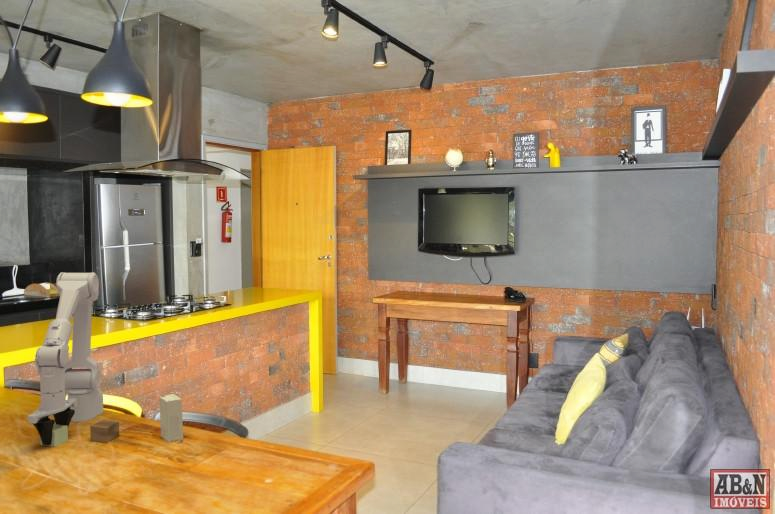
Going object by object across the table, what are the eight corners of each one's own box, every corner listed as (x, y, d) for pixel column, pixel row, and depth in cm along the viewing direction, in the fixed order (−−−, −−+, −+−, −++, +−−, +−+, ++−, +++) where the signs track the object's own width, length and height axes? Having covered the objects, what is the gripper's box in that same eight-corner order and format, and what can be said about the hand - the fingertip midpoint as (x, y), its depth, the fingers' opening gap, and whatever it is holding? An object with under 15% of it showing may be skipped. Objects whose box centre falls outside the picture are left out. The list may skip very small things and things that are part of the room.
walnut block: (103, 433, 167) (103, 419, 167) (119, 435, 166) (119, 421, 166) (90, 440, 162) (90, 426, 162) (106, 442, 161) (106, 428, 161)
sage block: (54, 442, 164) (53, 423, 163) (68, 444, 163) (67, 425, 162) (40, 448, 159) (40, 429, 159) (55, 450, 158) (54, 431, 158)
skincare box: (184, 442, 165) (183, 398, 164) (167, 446, 162) (166, 401, 161) (175, 435, 170) (175, 393, 169) (159, 439, 167) (158, 395, 166)
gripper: (61, 381, 168) (62, 429, 169) (17, 397, 154) (19, 449, 155) (83, 383, 166) (84, 432, 167) (40, 399, 152) (42, 452, 153)
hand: (54, 440), depth 161 cm, fingers closed on sage block, 4 cm apart
